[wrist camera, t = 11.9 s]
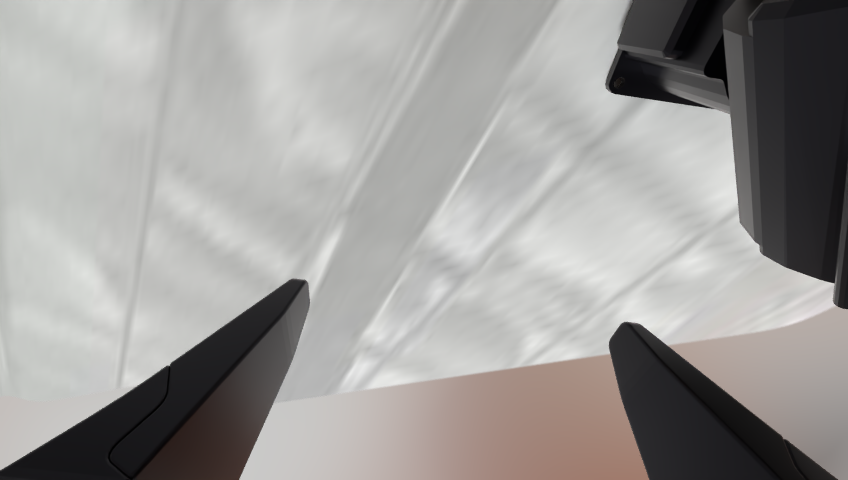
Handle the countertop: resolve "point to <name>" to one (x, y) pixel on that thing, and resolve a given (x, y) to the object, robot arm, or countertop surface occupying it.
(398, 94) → the countertop surface
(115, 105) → the countertop surface
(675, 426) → the robot arm
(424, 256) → the countertop surface
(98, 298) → the countertop surface
